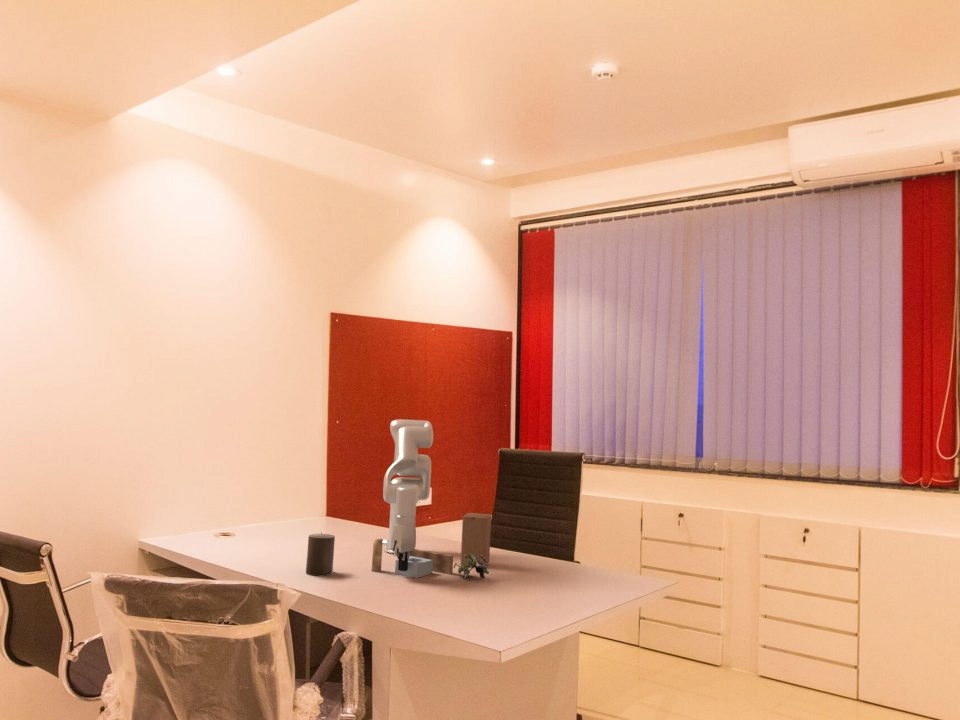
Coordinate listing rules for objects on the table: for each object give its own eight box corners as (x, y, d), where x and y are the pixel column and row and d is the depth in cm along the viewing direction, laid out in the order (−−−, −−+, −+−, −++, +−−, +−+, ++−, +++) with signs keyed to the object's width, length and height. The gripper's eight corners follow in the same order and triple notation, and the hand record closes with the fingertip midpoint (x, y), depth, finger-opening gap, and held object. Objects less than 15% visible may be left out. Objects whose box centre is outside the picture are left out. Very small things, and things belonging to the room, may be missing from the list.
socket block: (395, 573, 288) (395, 560, 288) (410, 569, 296) (411, 556, 297) (416, 577, 283) (417, 564, 283) (432, 573, 291) (432, 559, 292)
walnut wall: (402, 566, 302) (403, 548, 302) (405, 565, 304) (406, 547, 304) (449, 574, 291) (450, 556, 291) (452, 574, 292) (453, 555, 293)
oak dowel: (369, 571, 290) (371, 539, 291) (375, 569, 293) (377, 538, 294) (377, 572, 289) (378, 540, 289) (382, 571, 292) (384, 539, 292)
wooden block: (484, 568, 305) (487, 517, 306) (460, 566, 307) (462, 515, 308) (489, 563, 315) (491, 514, 316) (465, 561, 317) (467, 512, 318)
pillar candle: (316, 577, 277) (319, 535, 278) (300, 571, 284) (303, 531, 285) (337, 573, 285) (340, 533, 286) (322, 568, 291) (325, 529, 292)
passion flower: (480, 593, 287) (497, 570, 284) (458, 591, 281) (474, 567, 277) (468, 570, 296) (484, 548, 292) (446, 568, 289) (462, 544, 285)
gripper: (408, 517, 293) (406, 565, 292) (384, 521, 280) (382, 572, 279) (425, 519, 289) (422, 568, 288) (401, 523, 276) (398, 575, 275)
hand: (402, 570), depth 284 cm, fingers closed
